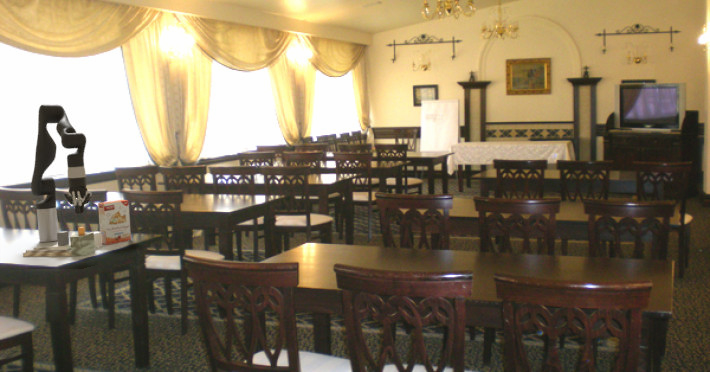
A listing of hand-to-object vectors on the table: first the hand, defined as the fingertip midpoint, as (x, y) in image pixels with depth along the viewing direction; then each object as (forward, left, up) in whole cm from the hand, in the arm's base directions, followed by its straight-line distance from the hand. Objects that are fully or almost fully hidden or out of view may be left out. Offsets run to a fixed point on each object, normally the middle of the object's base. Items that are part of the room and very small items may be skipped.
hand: (80, 213), depth 299 cm
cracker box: (-26, +3, -19) cm, 32 cm away
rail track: (0, -12, -19) cm, 22 cm away
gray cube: (0, -10, -16) cm, 19 cm away
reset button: (0, 0, -12) cm, 12 cm away
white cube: (-16, -3, -19) cm, 25 cm away
